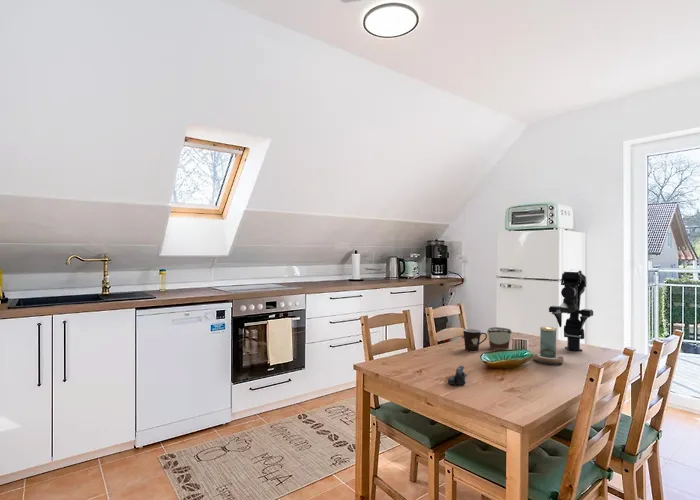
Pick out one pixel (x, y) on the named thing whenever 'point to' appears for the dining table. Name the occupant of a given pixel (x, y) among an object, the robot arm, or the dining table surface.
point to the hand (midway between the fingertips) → (570, 328)
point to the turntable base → (547, 363)
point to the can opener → (458, 377)
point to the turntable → (549, 360)
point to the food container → (499, 337)
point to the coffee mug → (472, 339)
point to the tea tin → (548, 342)
